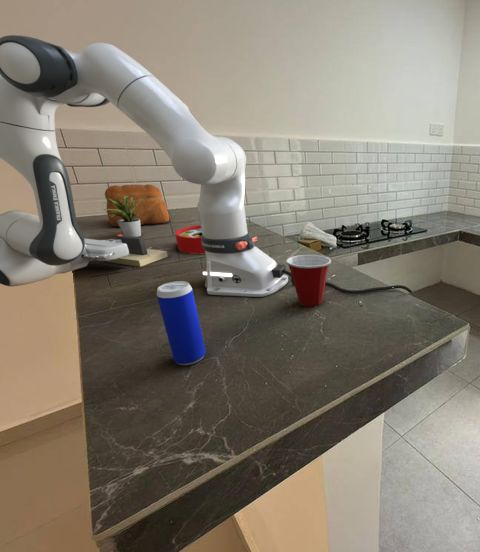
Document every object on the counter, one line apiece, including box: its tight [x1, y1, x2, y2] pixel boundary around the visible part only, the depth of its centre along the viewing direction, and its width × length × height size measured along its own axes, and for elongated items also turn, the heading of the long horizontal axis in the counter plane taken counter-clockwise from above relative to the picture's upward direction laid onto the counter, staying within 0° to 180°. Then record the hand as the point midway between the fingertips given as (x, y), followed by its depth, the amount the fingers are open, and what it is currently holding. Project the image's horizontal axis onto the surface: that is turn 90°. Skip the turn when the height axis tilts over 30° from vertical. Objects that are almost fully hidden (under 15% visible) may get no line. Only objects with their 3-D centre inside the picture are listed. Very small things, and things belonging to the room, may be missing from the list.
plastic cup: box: [286, 254, 332, 308], centre depth 82 cm, size 11×11×12 cm
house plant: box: [102, 195, 146, 237], centre depth 127 cm, size 14×14×16 cm
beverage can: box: [156, 280, 207, 366], centre depth 58 cm, size 5×5×15 cm
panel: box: [105, 246, 169, 267], centre depth 106 cm, size 14×13×2 cm
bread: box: [104, 183, 170, 228], centre depth 145 cm, size 18×22×17 cm
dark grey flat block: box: [115, 233, 148, 255], centre depth 105 cm, size 9×2×6 cm, turn 78°
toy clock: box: [174, 224, 206, 255], centre depth 122 cm, size 20×6×20 cm
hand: (118, 241), depth 104 cm, fingers closed
